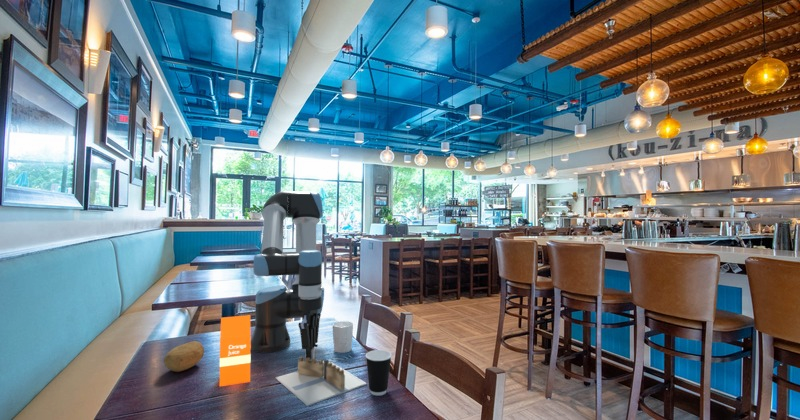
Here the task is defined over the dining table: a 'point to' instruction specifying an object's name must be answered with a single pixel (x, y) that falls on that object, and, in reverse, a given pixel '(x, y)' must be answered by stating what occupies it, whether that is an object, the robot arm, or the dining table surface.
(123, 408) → the dining table surface
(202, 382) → the dining table surface
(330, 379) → the fixed fence panel
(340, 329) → the white cup
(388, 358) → the dixie cup
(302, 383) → the card
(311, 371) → the beige crenellated panel
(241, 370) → the orange juice
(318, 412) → the dining table surface
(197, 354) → the potato
